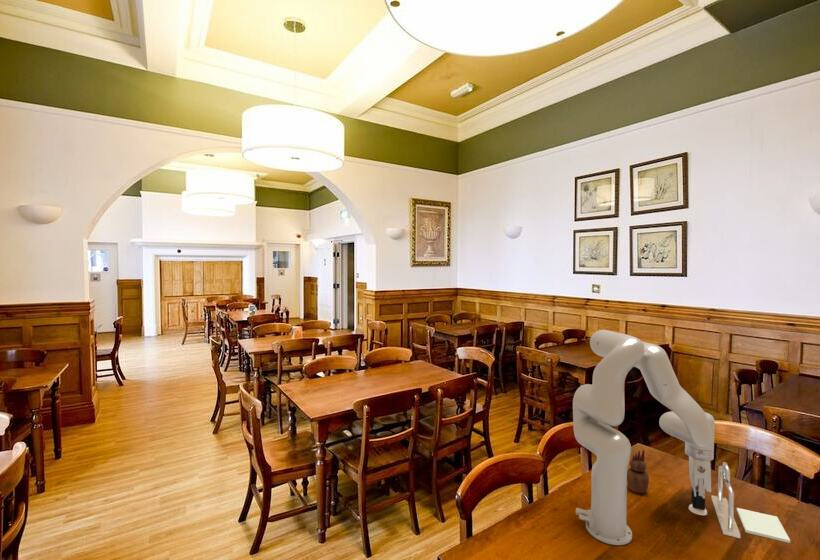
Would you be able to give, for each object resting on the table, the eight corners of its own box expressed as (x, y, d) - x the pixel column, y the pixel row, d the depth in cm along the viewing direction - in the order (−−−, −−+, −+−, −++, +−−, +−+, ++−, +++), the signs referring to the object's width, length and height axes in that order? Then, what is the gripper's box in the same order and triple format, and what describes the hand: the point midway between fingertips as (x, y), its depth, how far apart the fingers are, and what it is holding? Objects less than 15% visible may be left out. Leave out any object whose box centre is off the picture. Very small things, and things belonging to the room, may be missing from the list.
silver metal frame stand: (723, 534, 120) (724, 479, 119) (711, 498, 137) (712, 450, 137) (740, 538, 118) (741, 482, 117) (726, 501, 136) (727, 452, 135)
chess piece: (710, 516, 128) (711, 485, 128) (693, 514, 129) (693, 484, 129) (702, 506, 133) (703, 477, 132) (685, 505, 134) (686, 475, 133)
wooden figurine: (648, 489, 143) (649, 448, 143) (648, 497, 138) (648, 455, 138) (627, 484, 147) (627, 443, 146) (626, 491, 142) (626, 450, 141)
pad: (745, 532, 121) (745, 529, 120) (736, 510, 131) (736, 507, 131) (790, 543, 116) (790, 540, 116) (777, 519, 126) (777, 516, 126)
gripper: (718, 464, 121) (716, 524, 122) (709, 442, 135) (708, 496, 136) (688, 459, 125) (686, 516, 126) (682, 438, 139) (681, 490, 140)
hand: (697, 505), depth 131 cm, fingers closed on chess piece
